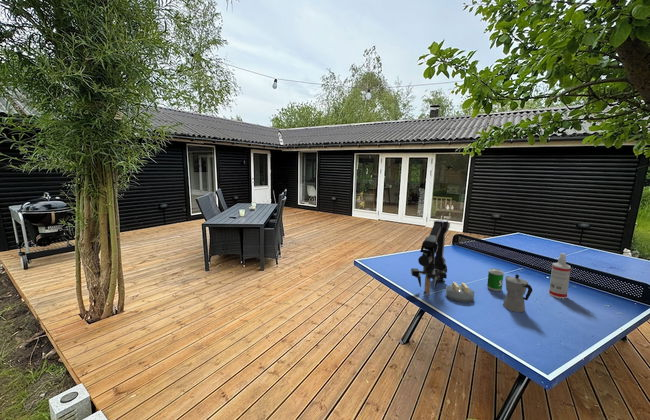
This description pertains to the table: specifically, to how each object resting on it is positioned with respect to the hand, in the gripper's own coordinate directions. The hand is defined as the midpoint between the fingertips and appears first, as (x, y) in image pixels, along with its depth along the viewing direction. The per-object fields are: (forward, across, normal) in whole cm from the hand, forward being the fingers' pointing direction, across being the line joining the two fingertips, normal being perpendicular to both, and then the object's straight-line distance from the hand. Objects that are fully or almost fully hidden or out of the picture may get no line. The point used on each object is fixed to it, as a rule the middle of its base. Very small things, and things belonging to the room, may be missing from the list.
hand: (427, 287), depth 150 cm
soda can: (+3, +41, +13) cm, 43 cm away
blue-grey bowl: (+3, +17, -2) cm, 17 cm away
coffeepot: (+3, +41, -11) cm, 43 cm away
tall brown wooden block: (+3, 0, 0) cm, 3 cm away
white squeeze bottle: (+3, +73, +11) cm, 74 cm away
